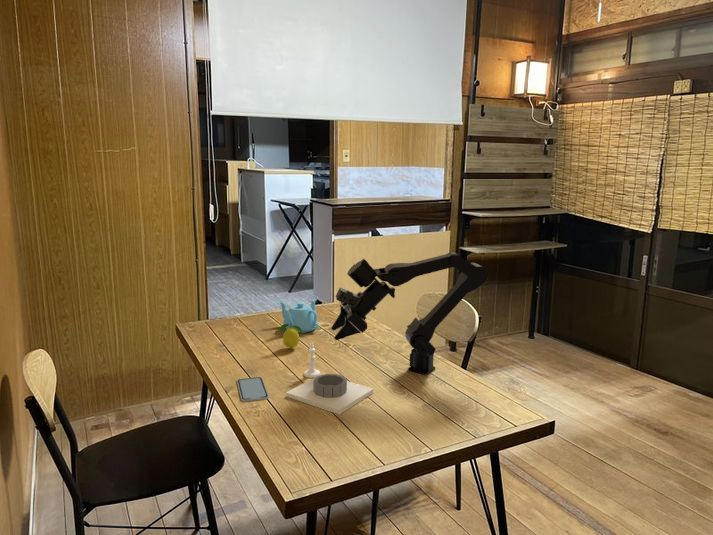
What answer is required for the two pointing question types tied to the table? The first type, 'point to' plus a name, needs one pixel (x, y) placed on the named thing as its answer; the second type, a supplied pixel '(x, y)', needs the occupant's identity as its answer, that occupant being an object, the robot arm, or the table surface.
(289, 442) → the table surface
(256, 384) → the smartphone
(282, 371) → the table surface
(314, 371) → the chess piece
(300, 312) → the teapot
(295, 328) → the lemon
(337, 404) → the collar board
